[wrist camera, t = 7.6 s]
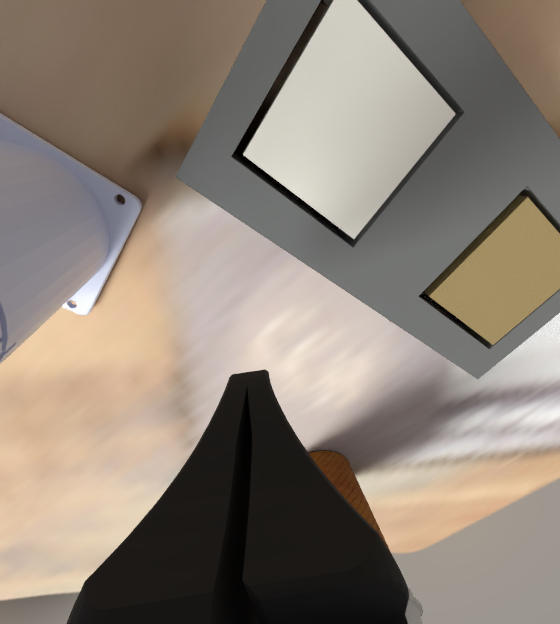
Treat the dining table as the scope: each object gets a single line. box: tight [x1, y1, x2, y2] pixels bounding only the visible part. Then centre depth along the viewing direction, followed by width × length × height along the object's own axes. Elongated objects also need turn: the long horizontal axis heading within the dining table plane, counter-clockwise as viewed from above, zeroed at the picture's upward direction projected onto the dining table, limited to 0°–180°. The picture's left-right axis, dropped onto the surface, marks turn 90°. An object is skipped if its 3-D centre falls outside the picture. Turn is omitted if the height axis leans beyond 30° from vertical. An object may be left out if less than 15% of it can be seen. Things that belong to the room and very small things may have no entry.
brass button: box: [423, 195, 560, 345], centre depth 18 cm, size 6×6×3 cm
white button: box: [243, 0, 455, 239], centre depth 14 cm, size 6×6×3 cm
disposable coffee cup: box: [309, 451, 423, 624], centre depth 24 cm, size 10×10×12 cm
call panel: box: [176, 0, 560, 379], centre depth 16 cm, size 22×11×3 cm, turn 54°
